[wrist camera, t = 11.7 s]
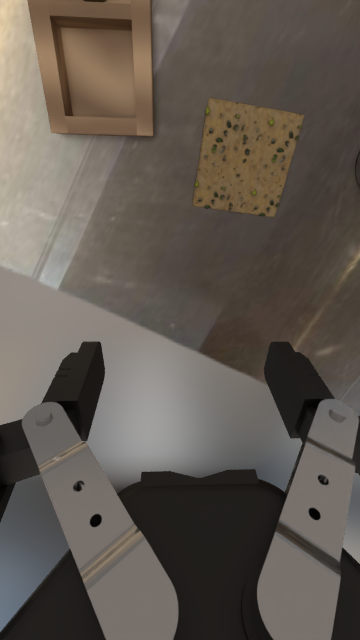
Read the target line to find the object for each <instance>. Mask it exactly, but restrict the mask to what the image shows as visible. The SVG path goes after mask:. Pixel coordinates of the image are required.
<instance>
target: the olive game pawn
mask: <svg viewBox="0 0 360 640" xmlns="http://www.w3.org/2000/svg"><path fill="white" fill-rule="evenodd" d="M83 1H85V2H105V1H107V0H83Z"/></svg>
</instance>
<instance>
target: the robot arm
mask: <svg viewBox="0 0 360 640" xmlns="http://www.w3.org/2000/svg"><path fill="white" fill-rule="evenodd" d="M356 178H357V182H358V184H359V186H360V153H359V156H358V159H357V164H356ZM264 375H265V379H266V382H267V384H268V386H269V389H270V391H271V393H272V396H273V398H274V400H275V403H276V405H277V408H278V410H279V412H280V415H281V417H282V420H283V422H284V424H285V427H286V429H287V431H288V434H289V436H290V438H301V440H302V443H303V444H302V446H301V449H300V451H299V454H298V457H297V460H296V462H295V465H294V468H293V471H292V473H291V476H290V479H289V482H288V484H287V487H286V489H285V492H284V491H282V490H281V489H279V488H278V487H276V486H274V485H272V484H270V483H268V482H266V481H263V480H260V479H258V478H257V474H256V471H255V469H251V470H226V471H223V472H220V473H216V474H213V475H210V476H207V477H203V478H195V477H191V476H187V475H183V474H178V473H175V472H171V471H163V472H142V474H141V481H140V482H137V483H134V484H132V485H130V486H128V487H126V488H125V489H123V490H121V491H120V492H119V493H117V494H116V492H115V490H114V489H113V487H112V485H111V483H110V482H109V480H108V478H107V477H106V475H105V473H104V471H103V470H102V468H101V466H100V465H99V463H98V461H97V460H96V458H95V456H94V455H93V453H92V451H91V450H90V448H89V446H88V445H87V443H86V442H82V441H87V439H88V436H89V432H90V429H91V425H92V421H93V418H94V414H95V411H96V407H97V403H98V399H99V395H100V392H101V389H102V385H103V381H104V376H105V367H104V360H103V354H102V347H101V343H100V342H83V343H82V344H81V347H80V349H79V351H78V353H70V354H69V355H68V356H67V357H66V358H64V359H63V361H62V363H61V365H60V367H59V370H58V371H57V373H56V375H55V377H54V379H53V381H52V383H51V385H50V387H49V389H48V391H47V393H46V395H45V397H44V399H43V401H42V403H41V404H39V405H37V406H35V407H33V408H32V409H30V410H29V411H28V412H27V413H26V414H25V416H24V418H23V419H21V420H18V421H14V422H11V423H7V424H3V425H0V522H1V519H2V517H3V514H4V511H5V509H6V506H7V504H8V501H9V498H10V496H11V494H12V491H13V488H14V486H15V483H16V482H18V481H21V480H23V479H27V478H29V477H32V476H36V475H39V474H41V476H42V478H43V481H44V484H45V486H46V489H47V491H48V494H49V496H50V498H51V501H52V504H53V506H54V508H55V511H56V514H57V516H58V519H59V521H60V524H61V526H62V529H63V531H64V534H65V536H66V539H67V542H68V544H69V547H70V549H69V550H68V551H67V552H66V554H65V555H64V556H63V557H62V558H61V560H60V561H59V562H58V563H57V564H56V566H55V567H54V568H53V569H52V570H51V572H50V573H49V574H48V575H47V576H46V578H45V579H44V580H43V581H42V583H41V584H40V585H39V586H38V587H37V589H36V590H35V591H34V592H33V593H32V595H31V596H30V597H29V598H28V599H27V601H26V602H25V603H24V604H23V605H22V607H21V608H20V609H19V611H18V612H17V613H16V614H15V615H14V617H13V618H12V619H11V620H10V621H9V622H8V624H7V625H6V626H5V627H4V628H3V630H2V631H1V632H0V640H360V564H359V563H358V562H357V561H356V560H355V559H354V558H353V557H352V556H351V555H350V554H349V553H347V551H346V550H345V549H344V548H343V547H342V546H343V539H344V534H345V527H346V521H347V515H348V509H349V503H350V497H351V491H352V485H353V479H354V473H359V475H360V416H358V415H357V414H356V412H355V411H354V410H353V409H352V408H351V407H350V406H349V405H347V404H345V403H343V402H341V401H339V400H335V398H334V397H333V395H332V394H331V392H330V391H329V389H328V388H327V386H326V385H325V383H324V382H323V380H322V379H321V377H320V376H319V375H318V373H317V371H316V370H315V369H314V367H313V365H312V364H311V362H310V361H309V359H308V358H306V357H305V356H304V355H302V354H301V353H300V352H295V351H294V349H293V348H292V346H291V345H290V343H289V342H271V343H270V346H269V350H268V354H267V358H266V362H265V367H264Z"/></svg>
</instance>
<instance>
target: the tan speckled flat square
mask: <svg viewBox="0 0 360 640" xmlns="http://www.w3.org/2000/svg"><path fill="white" fill-rule="evenodd" d="M303 119H304V115H301V114H297V113H292V112H287V111H280V110H277V109H269V108H263V107H257V106H253V105H247V104H244V103H235V102H230V101H227V100H220V99H215V98H212V97H210V98H208V104H207V108H206V111H205V122H204V128H203V136H202V144H201V149H200V157H199V162H198V168H197V178H196V182H195V190H194V196H193V206H196V207H204V208H207V209H208V208H211V209H220V210H226V211H234V212H239V213H249V214H255V215H259V216H267V217H274V216H275V213H276V211H277V208H278V207H279V201H280V198H281V197H282V196H281V194H282V191H283V188H284V185H285V181H286V177H287V174H288V170H289V165H290V163H291V160H292V158H293V157H292V156H293V153H294V151H295V147H296V144H297V142H298V141H299V133H300V130H301V128H302V122H303Z"/></svg>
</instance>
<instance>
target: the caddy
mask: <svg viewBox="0 0 360 640" xmlns="http://www.w3.org/2000/svg"><path fill="white" fill-rule="evenodd" d="M28 6H29V11H30V17H31V22H32V28H33V33H34V39H35V45H36V50H37V56H38V61H39V67H40V72H41V78H42V83H43V89H44V94H45V100H46V105H47V111H48V116H49V122H50V127H51V133H59V134H81V135H113V136H146V137H154V99H153V49H152V0H107V1H105V2H85V1H83V0H28Z"/></svg>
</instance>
